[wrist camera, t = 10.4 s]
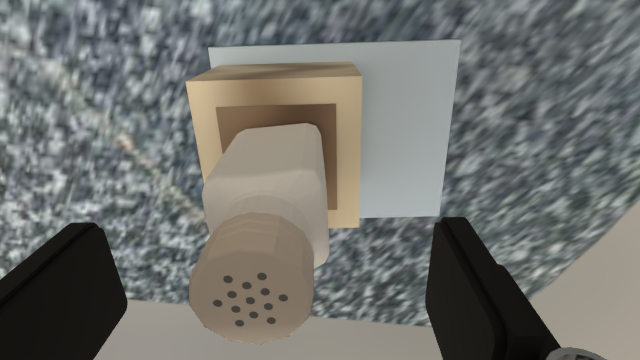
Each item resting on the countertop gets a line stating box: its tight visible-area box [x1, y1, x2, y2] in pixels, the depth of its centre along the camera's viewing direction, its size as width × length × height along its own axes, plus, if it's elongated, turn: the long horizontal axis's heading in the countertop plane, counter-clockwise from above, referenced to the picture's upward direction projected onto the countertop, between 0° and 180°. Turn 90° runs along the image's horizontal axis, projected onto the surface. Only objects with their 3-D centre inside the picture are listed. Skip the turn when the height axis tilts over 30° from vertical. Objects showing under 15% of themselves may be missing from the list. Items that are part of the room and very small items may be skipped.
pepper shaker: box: [189, 123, 330, 344], centre depth 13 cm, size 4×4×10 cm
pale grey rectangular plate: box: [208, 39, 461, 218], centre depth 24 cm, size 15×12×1 cm
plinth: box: [186, 61, 362, 228], centre depth 20 cm, size 8×8×6 cm
